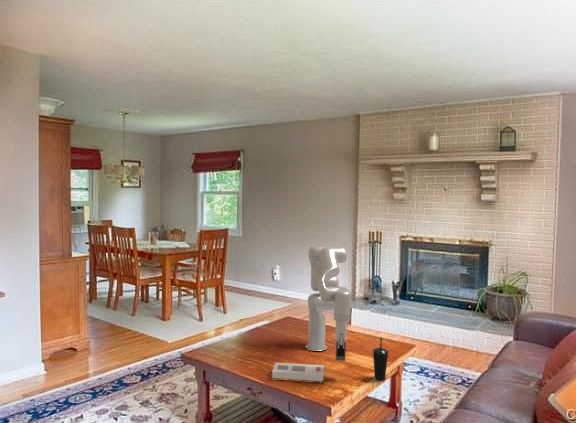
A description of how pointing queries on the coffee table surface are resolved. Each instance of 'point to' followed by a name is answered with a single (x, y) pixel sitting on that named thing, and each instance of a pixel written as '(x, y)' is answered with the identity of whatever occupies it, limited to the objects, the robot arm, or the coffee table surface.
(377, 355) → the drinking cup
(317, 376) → the power strip
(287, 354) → the coffee table surface
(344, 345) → the plug
